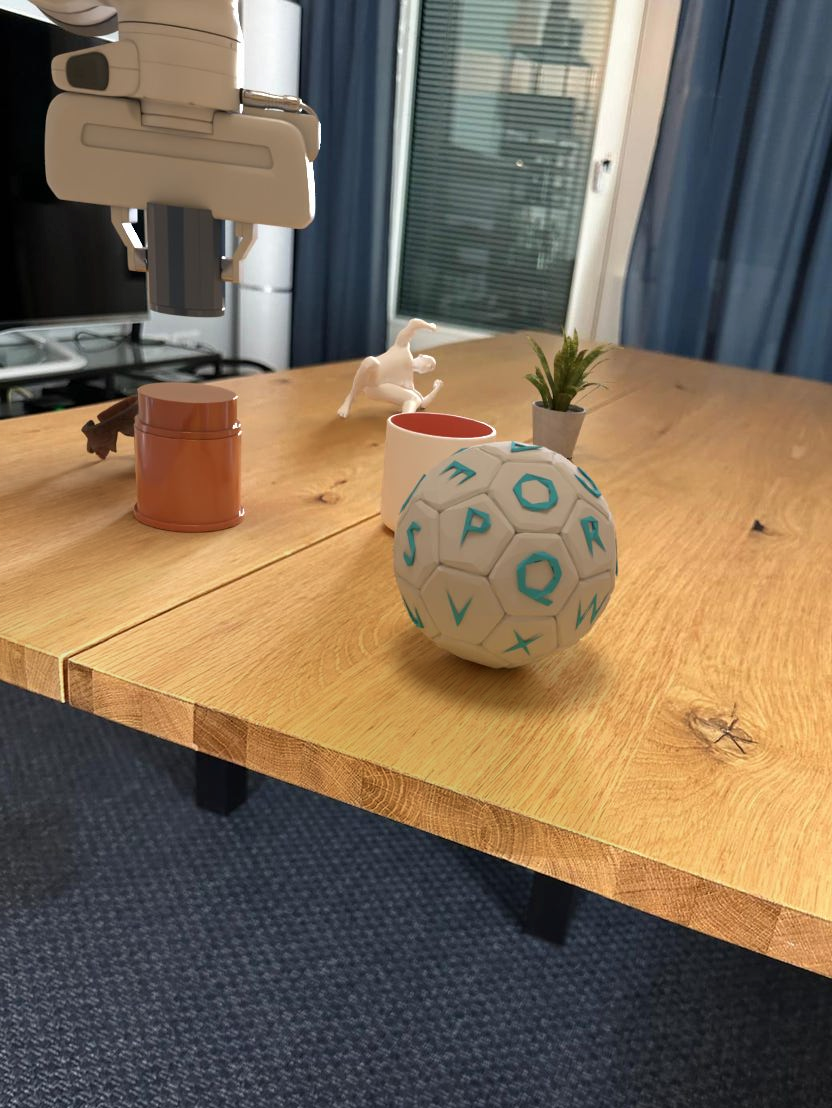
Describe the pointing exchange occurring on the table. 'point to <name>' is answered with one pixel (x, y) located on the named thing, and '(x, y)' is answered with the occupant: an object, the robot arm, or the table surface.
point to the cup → (421, 452)
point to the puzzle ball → (505, 554)
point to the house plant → (562, 395)
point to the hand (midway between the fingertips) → (186, 276)
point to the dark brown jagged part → (111, 427)
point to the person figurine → (395, 374)
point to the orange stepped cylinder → (187, 457)
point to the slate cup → (184, 261)
